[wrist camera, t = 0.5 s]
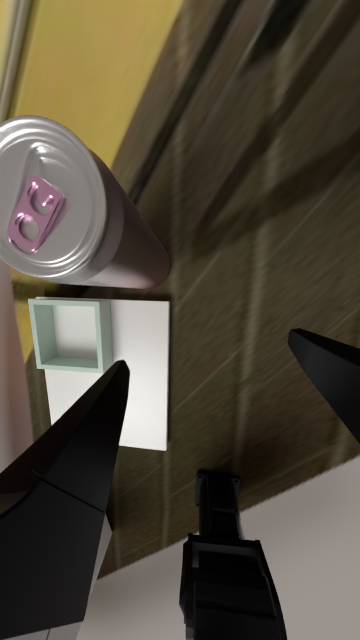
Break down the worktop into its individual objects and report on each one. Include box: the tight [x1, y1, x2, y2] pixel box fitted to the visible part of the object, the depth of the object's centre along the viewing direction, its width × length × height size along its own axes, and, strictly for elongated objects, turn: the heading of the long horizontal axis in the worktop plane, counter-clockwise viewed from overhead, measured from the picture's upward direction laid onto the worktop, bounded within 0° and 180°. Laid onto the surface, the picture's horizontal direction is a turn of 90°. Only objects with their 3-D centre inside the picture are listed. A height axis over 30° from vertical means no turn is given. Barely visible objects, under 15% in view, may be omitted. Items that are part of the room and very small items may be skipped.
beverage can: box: [0, 115, 170, 289], centre depth 13 cm, size 6×6×15 cm
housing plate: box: [28, 297, 170, 451], centre depth 22 cm, size 22×18×4 cm
